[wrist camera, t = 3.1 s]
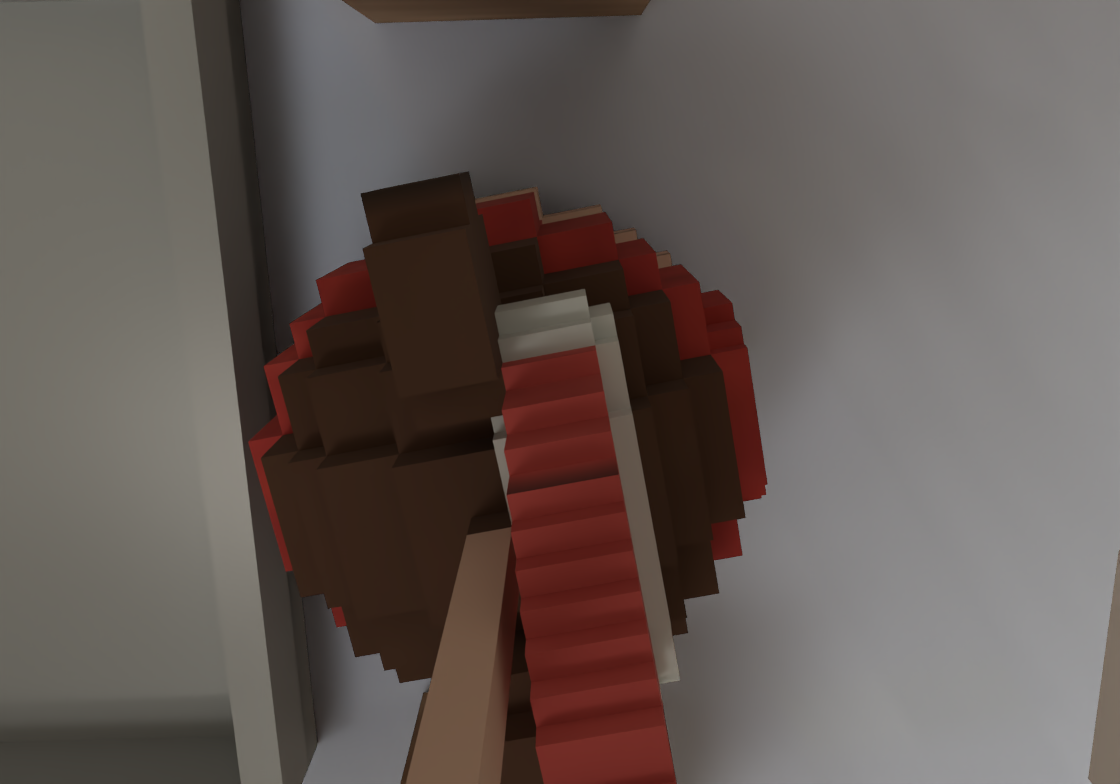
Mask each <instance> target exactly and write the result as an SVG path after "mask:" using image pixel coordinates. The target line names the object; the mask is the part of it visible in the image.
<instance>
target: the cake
mask: <svg viewBox="0 0 1120 784" xmlns="http://www.w3.org/2000/svg"><path fill="white" fill-rule="evenodd" d="M361 197H362V202H363V206H364V210H365V214H366V218H367V222H368V226H369V230H370V235H371V239H372V243H373V244H371V245H369V246H367V247H365V248H363V253H364V257H365V259H364V260H359V261H354V262H349V263H347V264H345V265H343V266H341V267H340V268H338V269H336V270H334V271H332V272H330V273H328V274H327V275H325V276H323V277H321V278H319V279H317V280H316V283H317V286H318V290H319V294H320V298H321V302H322V303H321V304H319V305H318V306H316V307H314V308H313V309H311V310H310V311H308V312H307V313H305V314H304V315H302V316H301V317H299V318H297V319H296V320H294V321H293V322H291V323H290V328H291V332H292V335H293V339H294V344H293V345H292V346H290V347H289V348H288V349H286V350H285V351H284V352H282V353H281V354H279V355H278V356H277V357H275V358H274V359H273V360H271V361H270V362H268V363H267V364H266V365H264V370H265V373H266V377H267V381H268V384H269V388H270V391H271V395H272V398H273V402H274V406H275V409H276V413H277V415H276V416H275V417H274V418H273V419H272V420H271V421H270V422H269V423H267V424H266V425H265V426H264V427H263V428H262V429H261V430H260V431H259V432H258V433H257V434H256V435H255V436H254V437H253V438H251V439H250V440H249V441H248V443H249V447H250V450H251V454H252V457H253V461H254V464H255V467H256V471H257V474H258V478H259V481H260V485H261V488H262V492H263V495H264V498H265V502H266V505H267V509H268V512H269V516H270V519H271V523H272V526H273V529H274V533H275V536H276V540H277V543H278V547H279V550H280V554H281V557H282V560H283V564H284V567H285V571H286V572H287V571H293V572H294V576H295V579H296V583H297V586H298V590H299V593H300V597H301V598H302V597H307V596H313V595H318V594H324V596H325V600H326V603H327V607H328V609H330V608H331V609H332V613H333V616H334V620H335V623H336V627H342V626H347V629H348V633H349V636H350V640H351V643H352V647H353V651H354V654H355V657H359V656H365V655H371V654H376V653H380V656H381V660H382V664H383V667H384V671H385V670H391V669H396V671H397V675H398V679H399V683H403V682H409V681H415V680H421V679H426V678H432V679H431V683H430V687H429V691H428V695H427V699H426V703H425V707H424V712H423V716H422V720H421V724H420V728H419V732H418V736H417V740H416V744H415V748H414V752H413V756H412V760H411V764H410V768H409V773H408V777H407V781H406V784H677V782H676V777H675V772H674V766H673V760H672V755H671V749H670V744H669V738H668V733H667V727H666V721H665V716H664V709H663V703H662V702H663V700H662V694H661V689H660V684H663V683H669V682H675V681H680V677H679V669H678V663H677V658H676V652H675V647H674V641H673V636H674V635H679V634H685V633H688V630H687V624H686V619H685V618H687V615H686V610H685V604H684V599H689V598H695V597H701V596H706V595H712V594H718V593H719V589H718V583H717V577H716V571H715V565H714V560H719V559H725V558H731V557H736V556H742V549H741V543H740V536H739V530H738V524H737V519H742V518H746V517H745V511H744V504H743V501H749V500H754V499H760V498H761V495H766V489H765V485H767V478H766V471H765V464H764V457H763V451H762V444H761V437H760V430H759V424H758V417H757V410H756V403H755V397H754V390H753V383H752V376H751V370H750V363H749V356H748V350H747V347H746V346H745V345H744V342H743V335H742V329H741V326H740V325H739V324H738V323H737V322H736V321H735V318H734V312H733V305H732V302H731V301H730V300H729V299H727V298H726V297H725V296H724V295H723V294H722V293H721V292H720V291H719V290H715V291H710V292H705V293H701V290H700V284H699V282H698V281H697V280H696V279H695V278H694V277H693V276H692V275H691V274H690V273H689V272H688V271H687V270H686V269H685V268H684V267H683V266H682V265H681V264H680V265H675V266H672V262H671V256H670V253H669V252H668V251H662V252H657V253H656V252H655V251H654V250H653V249H652V248H651V246H650V245H649V244H648V243H647V242H646V241H645V240H644V239H643V238H642V239H637V234H636V230H635V228H629V229H624V230H619V231H613V226H612V222H611V220H610V219H609V217H608V216H607V214H606V213H605V212H602V208H601V205H600V204H599V205H594V206H589V207H584V208H579V209H574V210H569V211H563V212H558V213H553V214H548V215H543V213H542V208H541V203H540V198H539V193H538V188H537V187H532V188H527V189H522V190H517V191H512V192H507V193H502V194H497V195H492V196H487V197H482V198H477V199H475V197H474V193H473V188H472V183H471V179H470V174H469V171H468V172H463V173H458V174H453V175H448V176H443V177H438V178H433V179H428V180H423V181H418V182H413V183H408V184H403V185H398V186H393V187H388V188H383V189H379V190H374V191H370V192H366V193H361Z"/></svg>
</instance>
